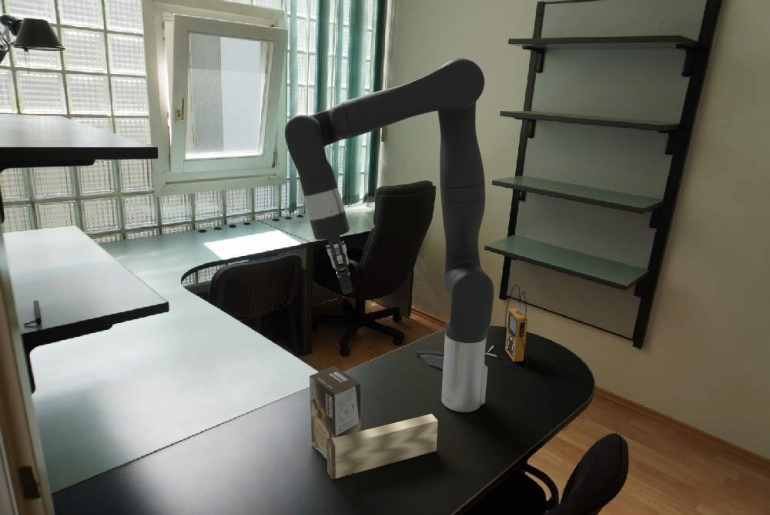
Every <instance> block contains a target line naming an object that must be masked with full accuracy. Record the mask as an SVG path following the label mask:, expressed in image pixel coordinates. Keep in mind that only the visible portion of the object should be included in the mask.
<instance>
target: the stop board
mask: <svg viewBox="0 0 770 515" xmlns="http://www.w3.org/2000/svg"><path fill="white" fill-rule="evenodd" d="M438 422H439V420H438V419H437V418H436V417H435V416H434V415H433V414H432V413H430V414H425V415H422V416H417V417H413V418H409V419H405V420H401V421H397V422H393V423H389V424H385V425H381V426H377V427H373V428H367V429H365V430H361V431H360V432H355V433H351V434H347V435H343V436H339V437H335V438H331V437H330V438H327V459H326V470H327V473H328V475H330V476H329V478H330V477H331V478H330V479H334V480H336V479H338V478H339V479H340V478H342V476H343V477H346V475H347V476H349V475H353V473H354V474H357V473H361V472H364V471H368V470H372V469H375V468H379V467H383V466H385V465H386V466H387V465H389V464H394V463H397V462H400V461H403V460H408V459H412V458H416V457H419V456H421V455H426V454H429V453H433V452H437V444H438V443H437V442H438V426H439V425H438Z"/></svg>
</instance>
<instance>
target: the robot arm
mask: <svg viewBox="0 0 770 515" xmlns="http://www.w3.org/2000/svg"><path fill="white" fill-rule="evenodd" d="M485 80H486V79H485V75H484V73H483V70H482V69H481V67H480V66H479V65H478V63H475V62H474V61H472V60H470V59H468V58H461V57H460V58H459V57H457V58H454V59H451V60H448V61H446V62H445V63H444V64H442V65H441V66H440V67H439V68H438V69H436V70H434V71H432V72H430V73H428V74H426V75H424V76H422V77H420V78H417V79H415V80H412V81H410V82H407V83H404V84H401V85H398V86H393V87H389V88H386V89H382V90H378V91H374V92H371V93H367V94H363V95H360V96H357V97H354V98H351V99H348V100H347V99H346V101H345V100H344V101H341V102H339V103H337V104H335V105H333V106H332V107H331V108H329V109H326V110H325V109H324V110H322V111H319V112H316V113H312V114H309V115H306V114H297V115H294V116H293V117H291V118H290V119H289V120H288V121H287V123H286V124H285V126H284V127H285V128H284V139H285V142H286V147H287V150H288V152H289V154H290V157H291V160H292V161H293V164H294V166H295V169H296V170H297V173H298V174H297V175H298V178H299V181H300V182H299V183H300V186H301V190H302V194H303V196H304V202H305V209H306V212H307V213H306V214H307V216H308V219H309V222H310V227H311V230H312V233H313V237H314V239H315V240H316V241H325V240H327V241H328V243H329V244H328V245H325V247H326V251H327V255H328V256H329V258H330V262H331V265H332V268H333V269H334V271H336V273H335V274H336V276H337V277H338V279H339V284H340V287H341V291H342V294H343V295H348V294H352V293H353V292H354V289H353V285H352V280H351V277H350V272H351V271H350V268H349V266H348V265H349V264H350V262H349V257H348V254H347V251H348V249H347V246H346V243H345V241H344V240H343V241H341V239H340V238H341V236H342V235H345V234H347V233H349V232H350V231H351V230H350V224H349V221H348V217H347V213H346V209H345V205H344V202H343V198H342V196H341V193H340V190H339V188H338V184H337V180H336V177H335V173H334V169H333V166H332V165H331V163H330V162H329V161H328V158H327V153H326V150H325V147H327V146H330V145H332V144H334V143H337V142H340V141H343V140H347V139H352V138H355V137H359V136H362V135H364V134H368V133H370V132H375V131H376V130H379V129H382V128H385V127H387V126H390V125H393V124H396V123H399V122H401V121H404V120H407V119H410V118H414V117H416V116H420V115H421V116H422V115H424V114H428V113H432V112H433V113H434V112H437V116H438V122H439V123H438V124H439V131H440V132H439V134H440V140H439V141H440V143H439V144H440V145H439V189H440V204H441V213H442V214H441V215H442V224H443V225H442V226H443V231H444V238H445V258H444V259H445V260H444V261H445V262H444V288H445V290H446V293H447V294H448V295H449V298H451V301H450V302H451V303H450V315H449V318H448V319H447V320H446V322H445V326H444V328H445V330H444V347H443V348H444V349H443V352H444V362H443V371H442V381H441V382H442V385H441V386H442V387H441V403H442V404H443V406H444V407H446V408H447V409H449V410H450V411H454V412H458V413H459V412H460V413H470V412H474V411H476V410H479V408H480V407H481V406H483V405H484V404H485V403H486V391H487V381H488V380H487V378H488V369H489V368H488V366H487V364H485V362H486V361H485V360H486V358H485V357H486V354H485V353H486V344H487V336H488V334H487V333H488V330H489V329H490V325H491V323H492V316H493V306H494V298H495V297H494V296H495V294H494V293H495V287H494V283H493V280H492V279H491V277H490V276H489V275H488V274H487V273H486V272H485V271H484V270H483V268H482V265H481V259H480V250H479V235H480V229H481V226H482V222H483V218H484V214H485V211H486V210H485V209H486V177H485V170H484V164H483V158H482V153H481V150H480V146H479V140H478V136H477V128H476V127H477V126H476V124H477V123H476V120H477V119H476V117H477V116H476V114H477V113H476V112H477V102H478V100H479V99H480V97H481V95H483V92H484V89H485V82H486V81H485Z"/></svg>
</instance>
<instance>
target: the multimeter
mask: <svg viewBox="0 0 770 515" xmlns="http://www.w3.org/2000/svg"><path fill="white" fill-rule="evenodd" d="M516 286H517V287H518V301H517V305H516V307H513V308H512V307H511V308H509V307H508V306H509V304H510V303H509V302H510V299H511V296H512V294H513V291H514V290H515V287H516ZM522 296H523V297H524V304H525V314H524V313H523V311H522V310H521V306H522V305H521V301H522ZM527 311H528V310H527V302H526V290H523V291H522V292H521V290H520V286H519V285H518V284H515V285H514V286H513V287H512V289H511V292H510V294H509V297H508V300H507V304H506V310H505V316H504V317H505V318H504V335H503V341H502V343H499V344H498V343H497V344H493V345H492V346H490V348H488V349H489V350H488V351H487V352H485V355H487V356H490V357H494V358H499V359H503V362H504V364H505V365H507V366H508V367H509V368H512V369H515V370H526V369H527V368H528V363H529V362H528V356H527V351H526V339H527V338H526V337H527V329H528V320H529V318H528V316H527ZM507 312H508V316H507ZM504 344H505V348H504V349H505V352H506V353H507V355H508V356H509V357H510V359H511V360H512V361H513V362H523V361H524V359H526V360H525V361H526V366H525V367H524V368H520V367H516V366H514V367H513V366H512V365H510V364H508V363H507V362H506V359H505V358H504V357H501V356H497V355H496V354H492V353H491V352H490V351H492V350H493V349H494V347H495V346H503V345H504ZM489 352H490V353H489ZM524 356H525V358H524Z"/></svg>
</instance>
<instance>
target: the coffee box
mask: <svg viewBox="0 0 770 515" xmlns="http://www.w3.org/2000/svg"><path fill="white" fill-rule="evenodd" d="M361 386H362V385H361V383H360V382H359V381H357V380H356V379H354V378H353V377H352V376H350V375H348V374H347V373H346V372H344V371H343V370H341V369H339V368H338V367H337V366H330V367H327V368H324V369H322V370H319V371H317V373H314V374H311V375H309V400H310V401H309V403H310V404H309V405H310V430H311V446H312V445H313V446H314V447H313V446H312V447H313V449H315V448H316V449H317V450H318V451H319V452H320V453H321V454H322V455H323V456H322V455H321V454H320V453H319V452H318V451H317V450H316V449H315V450H316V451H317V452H318V453H319V454H320V455H321V456H322V457H323V458H324V459H325V460H327V438H330V437H331V438H335V437H339V436H343V435H347V434H351V433H355V432H360V431H362V430H361V426H362V425H361V421H362V420H361V417H362V414H361V411H362V410H361V409H362V408H361V406H362V404H361V399H362V398H361V396H362V395H361V392H362V391H361Z"/></svg>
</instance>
